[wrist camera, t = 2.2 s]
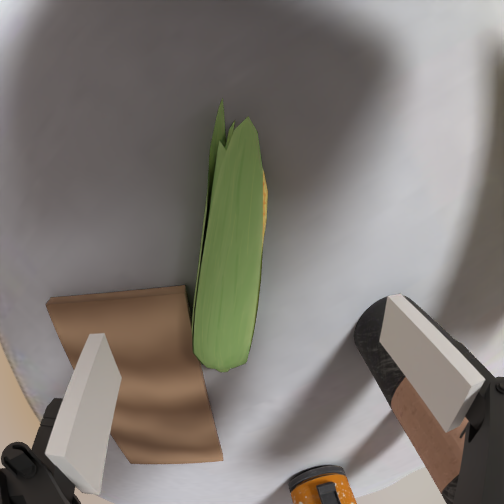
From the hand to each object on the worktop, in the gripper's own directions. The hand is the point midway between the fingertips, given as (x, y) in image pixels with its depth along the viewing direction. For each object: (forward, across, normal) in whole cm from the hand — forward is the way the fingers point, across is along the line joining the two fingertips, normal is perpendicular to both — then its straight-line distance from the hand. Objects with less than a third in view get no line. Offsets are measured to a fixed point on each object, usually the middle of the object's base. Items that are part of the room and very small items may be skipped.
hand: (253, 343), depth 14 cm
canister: (+11, +9, -38) cm, 41 cm away
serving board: (+11, -10, -14) cm, 21 cm away
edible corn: (+11, 0, +1) cm, 11 cm away
